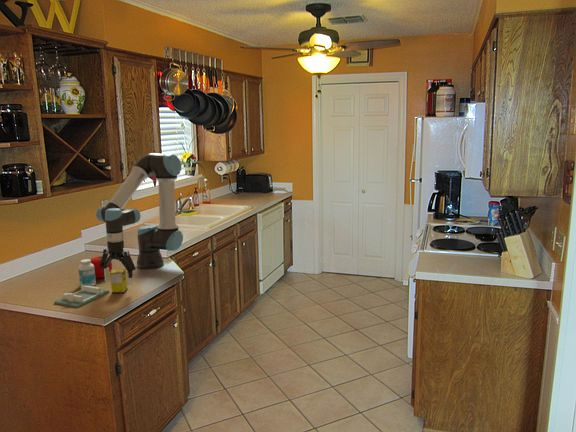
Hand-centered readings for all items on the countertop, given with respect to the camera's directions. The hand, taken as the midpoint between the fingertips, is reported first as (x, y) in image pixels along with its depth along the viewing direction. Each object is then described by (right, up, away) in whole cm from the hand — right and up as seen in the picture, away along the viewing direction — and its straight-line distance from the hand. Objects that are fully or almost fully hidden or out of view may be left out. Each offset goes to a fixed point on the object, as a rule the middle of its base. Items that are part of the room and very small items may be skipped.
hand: (118, 282), depth 230 cm
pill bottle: (-19, -3, +10) cm, 22 cm away
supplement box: (0, -5, +1) cm, 5 cm away
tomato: (-18, 0, +23) cm, 29 cm away
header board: (-15, -6, -7) cm, 17 cm away
